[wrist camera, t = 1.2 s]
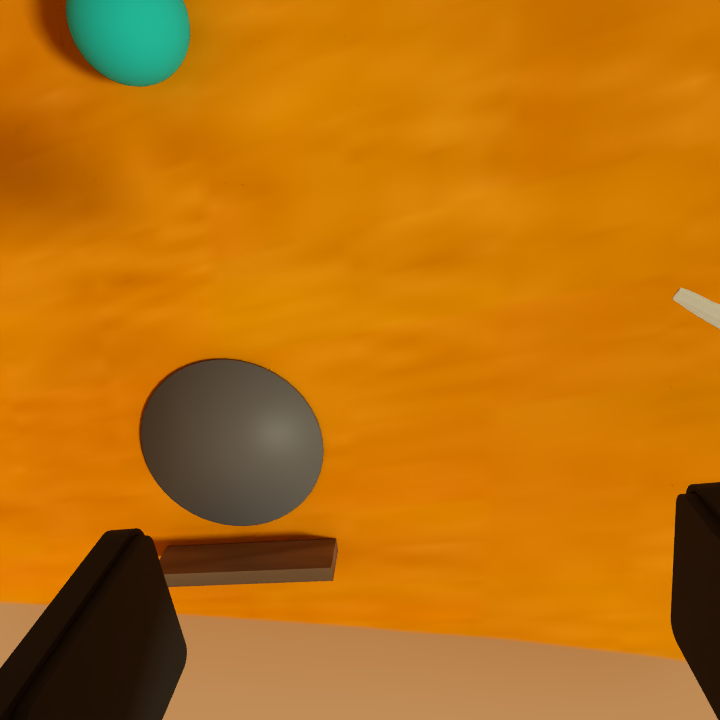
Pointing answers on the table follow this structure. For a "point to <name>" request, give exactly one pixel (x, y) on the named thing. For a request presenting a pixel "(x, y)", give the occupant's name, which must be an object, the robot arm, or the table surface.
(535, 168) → the table surface
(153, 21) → the ball
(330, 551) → the bar
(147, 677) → the robot arm
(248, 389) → the grey flat disc
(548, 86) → the table surface
